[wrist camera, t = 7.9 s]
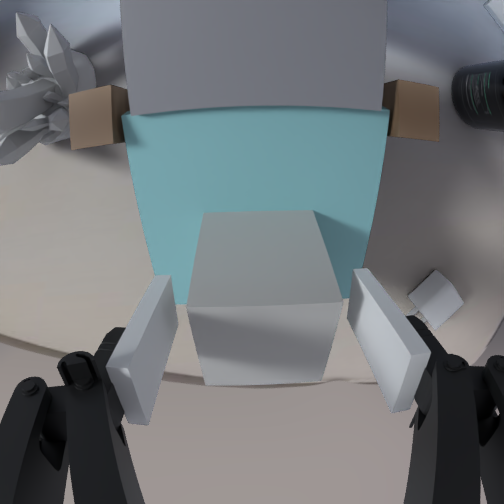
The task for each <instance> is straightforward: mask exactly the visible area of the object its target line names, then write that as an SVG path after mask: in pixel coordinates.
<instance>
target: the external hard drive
mask: <svg viewBox="0 0 504 504" xmlns="http://www.w3.org/2000/svg"><path fill="white" fill-rule="evenodd" d="M484 7H485V8H486V9H487V11H488V12H489V13H490V15H491V16H492V17H493V18H494V20H495V21H496V22H497V24H498V25H499V27H500V28H501V29H502V31H503V32H504V0H488V1H487V2H486V3H485V4H484Z"/></svg>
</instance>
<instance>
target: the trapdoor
mask: <svg viewBox="0 0 504 504" xmlns="http://www.w3.org/2000/svg"><path fill="white" fill-rule="evenodd" d="M120 11H121V27H122V41H123V53H124V63H125V73H126V82H127V90H128V98H129V106H130V111H127V112H126V113H124V114H123V115H122V116H121V118H122V124H123V131H124V137H125V143H126V148H127V154H128V160H129V165H130V170H131V175H132V180H133V185H134V190H135V195H136V199H137V204H138V209H139V213H140V217H141V222H142V226H143V230H144V234H145V239H146V243H147V247H148V251H149V254H150V258H151V262H152V266H153V270H154V273H155V275H171V279H172V286H173V293H174V300H175V304H187V299H188V293H189V287H190V282H191V276H192V270H193V265H194V259H195V254H196V249H197V243H198V238H199V233H200V228H201V223H202V218H203V213H212V212H242V211H287V210H313V212H314V215H315V218H316V221H317V223H318V226H319V229H320V232H321V235H322V238H323V241H324V244H325V247H326V249H327V252H328V255H329V258H330V261H331V264H332V268H333V271H334V274H335V277H336V280H337V283H338V286H339V289H340V293H341V296H342V299H344V298H350V290H351V281H352V272H353V269H361V268H362V267H363V262H364V258H365V254H366V250H367V245H368V241H369V236H370V231H371V226H372V222H373V217H374V212H375V206H376V201H377V196H378V190H379V184H380V178H381V172H382V166H383V160H384V153H385V146H386V139H387V131H388V123H389V114H390V110H389V109H387V108H385V107H383V106H382V99H383V88H384V75H385V59H386V36H387V0H120Z"/></svg>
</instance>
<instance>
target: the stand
mask: <svg viewBox="0 0 504 504" xmlns="http://www.w3.org/2000/svg"><path fill="white" fill-rule="evenodd" d="M382 106H383V107H385V108H387V109H389V110H390V114H389V123H388V131H387V136H390V137H401V138H411V139H420V140H429V141H437V142H439V87H435V86H430V85H425V84H420V83H415V82H410V81H404V80H395V81H391V82H388V83H384V88H383V99H382ZM127 111H130V106H129V98H128V90H127V89H124V88H120V87H117V86H114V85H107V86H102V87H98V88H93V89H89V90H85V91H81V92H77V93H73V94H69V124H70V141H71V150H76V149H82V148H88V147H95V146H101V145H108V144H115V143H123V142H125V137H124V131H123V124H122V118H121V116H122V115H123V114H124V113H126V112H127Z"/></svg>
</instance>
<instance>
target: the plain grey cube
mask: <svg viewBox="0 0 504 504" xmlns="http://www.w3.org/2000/svg"><path fill="white" fill-rule="evenodd" d="M342 306H343V299H342V296H341V293H340V289H339V286H338V283H337V280H336V277H335V274H334V271H333V268H332V264H331V261H330V258H329V255H328V252H327V249H326V247H325V244H324V241H323V238H322V235H321V232H320V229H319V226H318V223H317V221H316V218H315V215H314V212H313V210H287V211H242V212H212V213H203V218H202V223H201V228H200V233H199V238H198V243H197V249H196V254H195V259H194V265H193V270H192V276H191V282H190V287H189V293H188V299H187V305H186V309H187V313H188V317H189V322H190V326H191V330H192V334H193V338H194V342H195V346H196V350H197V354H198V358H199V362H200V366H201V370H202V373H203V377H204V381H205V384H206V385H263V384H284V383H300V382H313V381H321V380H322V377H323V374H324V371H325V367H326V364H327V361H328V357H329V354H330V350H331V347H332V343H333V340H334V336H335V332H336V329H337V325H338V321H339V317H340V314H341V310H342Z"/></svg>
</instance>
